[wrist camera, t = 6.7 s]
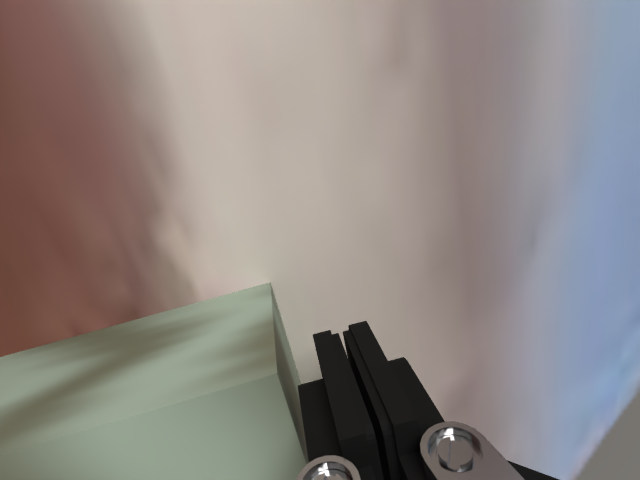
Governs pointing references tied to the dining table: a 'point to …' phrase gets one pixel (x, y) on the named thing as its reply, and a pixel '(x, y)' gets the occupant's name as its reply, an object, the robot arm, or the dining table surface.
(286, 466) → the block
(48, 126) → the dining table surface
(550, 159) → the dining table surface
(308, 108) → the dining table surface
